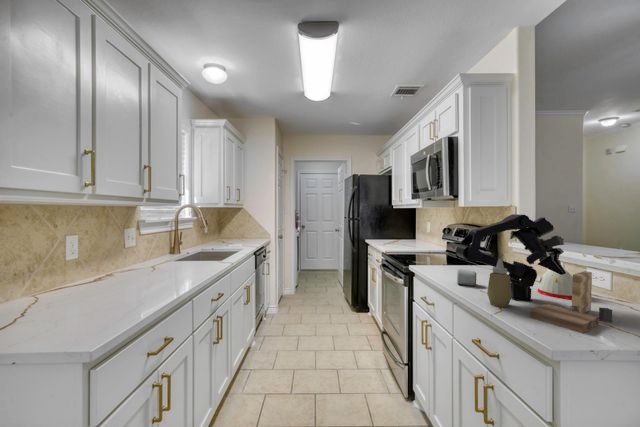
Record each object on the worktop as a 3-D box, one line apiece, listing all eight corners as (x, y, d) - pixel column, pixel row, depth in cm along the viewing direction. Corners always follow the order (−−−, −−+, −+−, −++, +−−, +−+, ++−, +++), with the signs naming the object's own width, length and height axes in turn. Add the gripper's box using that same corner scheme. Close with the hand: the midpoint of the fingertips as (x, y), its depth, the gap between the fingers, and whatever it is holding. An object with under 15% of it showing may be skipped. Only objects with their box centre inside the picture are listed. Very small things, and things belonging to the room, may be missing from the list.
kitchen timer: (534, 293, 124) (535, 260, 124) (541, 287, 133) (542, 256, 133) (576, 301, 114) (577, 265, 113) (581, 295, 123) (582, 260, 122)
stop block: (603, 321, 94) (604, 309, 94) (598, 319, 96) (599, 307, 96) (612, 321, 94) (612, 310, 93) (606, 319, 95) (607, 307, 95)
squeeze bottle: (512, 310, 104) (513, 261, 103) (486, 305, 108) (487, 259, 107) (511, 303, 110) (512, 258, 110) (487, 299, 115) (488, 256, 114)
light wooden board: (576, 316, 97) (577, 276, 97) (568, 314, 99) (570, 275, 98) (590, 309, 104) (592, 272, 103) (583, 308, 105) (584, 271, 105)
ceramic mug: (476, 287, 132) (477, 271, 132) (457, 285, 136) (457, 269, 136) (474, 282, 142) (474, 267, 142) (456, 280, 145) (456, 266, 145)
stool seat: (582, 333, 85) (583, 325, 85) (529, 317, 97) (529, 310, 97) (598, 324, 91) (598, 317, 91) (546, 310, 103) (547, 303, 103)
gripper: (536, 229, 105) (573, 264, 96) (558, 227, 114) (593, 259, 105) (513, 247, 112) (545, 281, 103) (535, 244, 121) (566, 275, 112)
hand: (563, 274), depth 105 cm, fingers closed
